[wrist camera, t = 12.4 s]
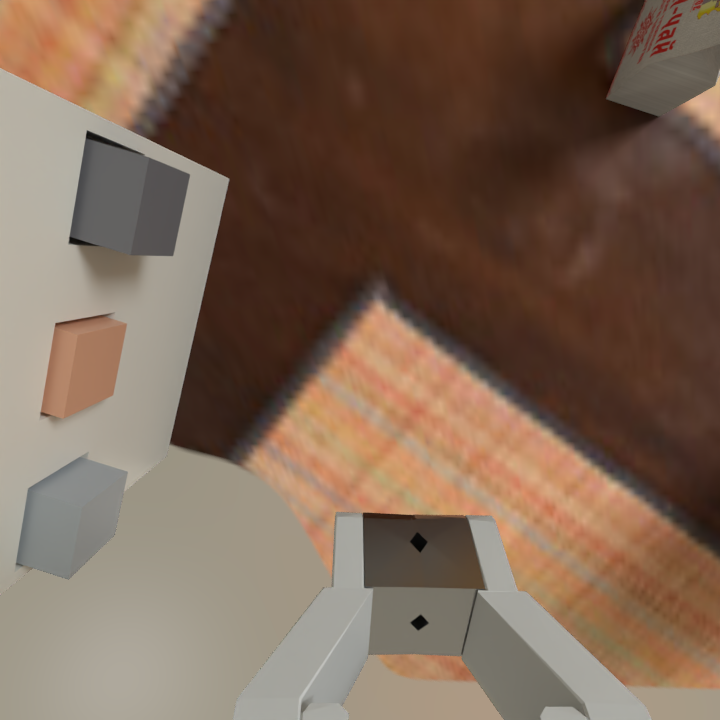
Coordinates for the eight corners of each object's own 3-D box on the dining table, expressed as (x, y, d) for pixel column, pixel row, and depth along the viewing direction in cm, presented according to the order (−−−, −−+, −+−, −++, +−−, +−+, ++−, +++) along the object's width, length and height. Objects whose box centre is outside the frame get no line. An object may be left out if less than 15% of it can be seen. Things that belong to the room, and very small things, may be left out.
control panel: (229, 178, 36) (-34, 51, 14) (166, 456, 40) (-105, 682, 19) (162, 158, 36) (-201, 1, 14) (107, 438, 40) (-230, 641, 19)
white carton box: (706, 5, 31) (846, -111, 21) (659, 116, 33) (769, 55, 23) (650, -13, 31) (764, -138, 22) (605, 98, 33) (693, 29, 23)
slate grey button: (127, 471, 27) (82, 507, 23) (114, 535, 28) (68, 579, 24) (58, 449, 27) (1, 481, 23) (47, 513, 28) (-10, 554, 24)
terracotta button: (127, 323, 26) (77, 334, 22) (113, 395, 26) (63, 418, 23) (53, 300, 26) (-9, 307, 22) (41, 373, 27) (-21, 392, 23)
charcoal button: (190, 174, 24) (149, 157, 20) (173, 256, 25) (130, 255, 21) (111, 150, 24) (55, 129, 20) (96, 233, 25) (40, 227, 21)
